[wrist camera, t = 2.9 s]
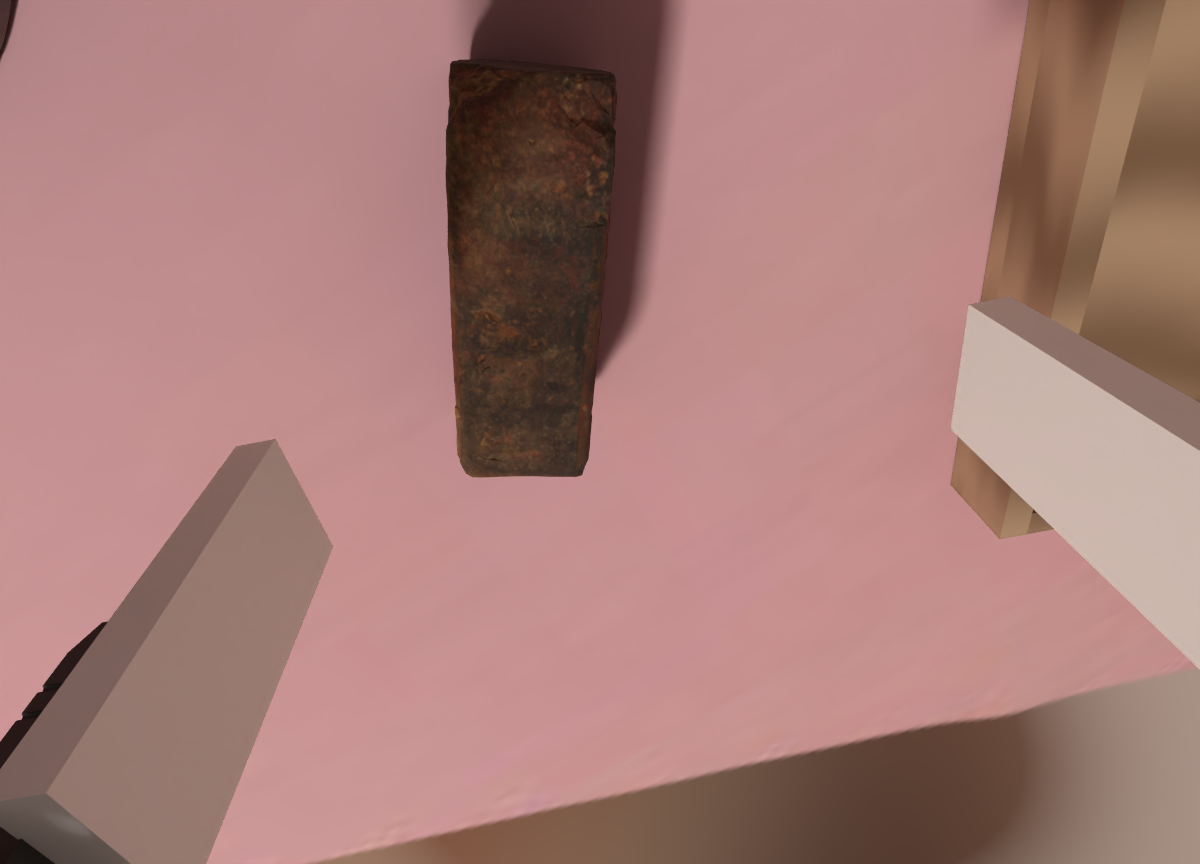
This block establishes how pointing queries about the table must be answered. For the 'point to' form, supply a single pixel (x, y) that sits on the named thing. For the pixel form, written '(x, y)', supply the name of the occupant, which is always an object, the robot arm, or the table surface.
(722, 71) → the table surface
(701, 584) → the table surface
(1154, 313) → the tray
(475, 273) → the brick
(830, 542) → the table surface
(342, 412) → the table surface
